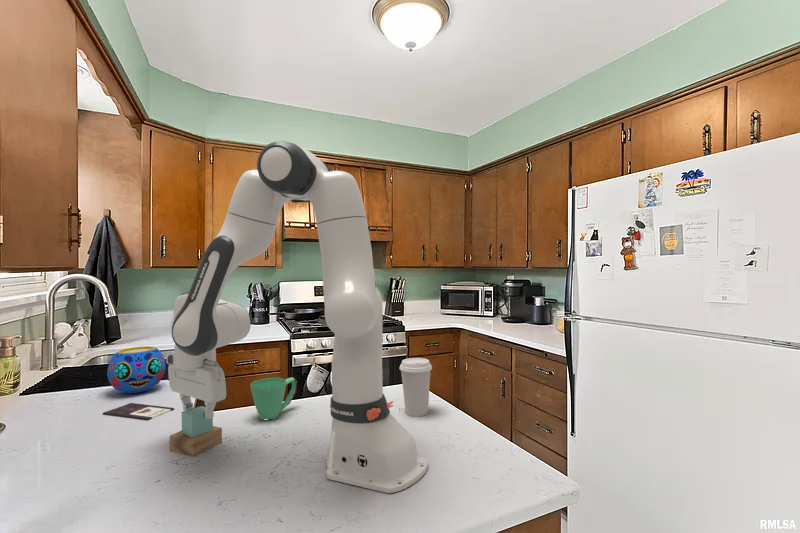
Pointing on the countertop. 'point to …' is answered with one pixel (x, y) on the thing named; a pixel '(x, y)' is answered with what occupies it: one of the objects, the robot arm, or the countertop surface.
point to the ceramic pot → (136, 369)
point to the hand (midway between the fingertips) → (198, 414)
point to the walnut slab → (195, 442)
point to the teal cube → (196, 422)
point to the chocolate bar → (138, 411)
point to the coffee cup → (416, 385)
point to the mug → (272, 396)
